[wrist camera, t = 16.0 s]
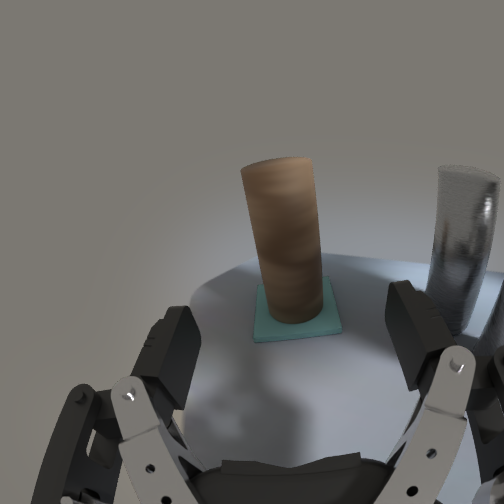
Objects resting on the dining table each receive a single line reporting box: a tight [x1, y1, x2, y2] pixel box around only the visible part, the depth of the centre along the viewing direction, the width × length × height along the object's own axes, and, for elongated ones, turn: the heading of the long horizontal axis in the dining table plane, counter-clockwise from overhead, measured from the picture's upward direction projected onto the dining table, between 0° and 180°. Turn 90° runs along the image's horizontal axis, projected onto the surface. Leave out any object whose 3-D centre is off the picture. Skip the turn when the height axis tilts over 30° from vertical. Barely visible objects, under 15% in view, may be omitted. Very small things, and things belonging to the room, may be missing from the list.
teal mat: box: [253, 276, 342, 343], centre depth 23 cm, size 7×7×1 cm
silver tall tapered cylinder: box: [425, 165, 500, 335], centre depth 15 cm, size 5×5×12 cm
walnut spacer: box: [241, 157, 323, 324], centre depth 20 cm, size 5×5×12 cm
